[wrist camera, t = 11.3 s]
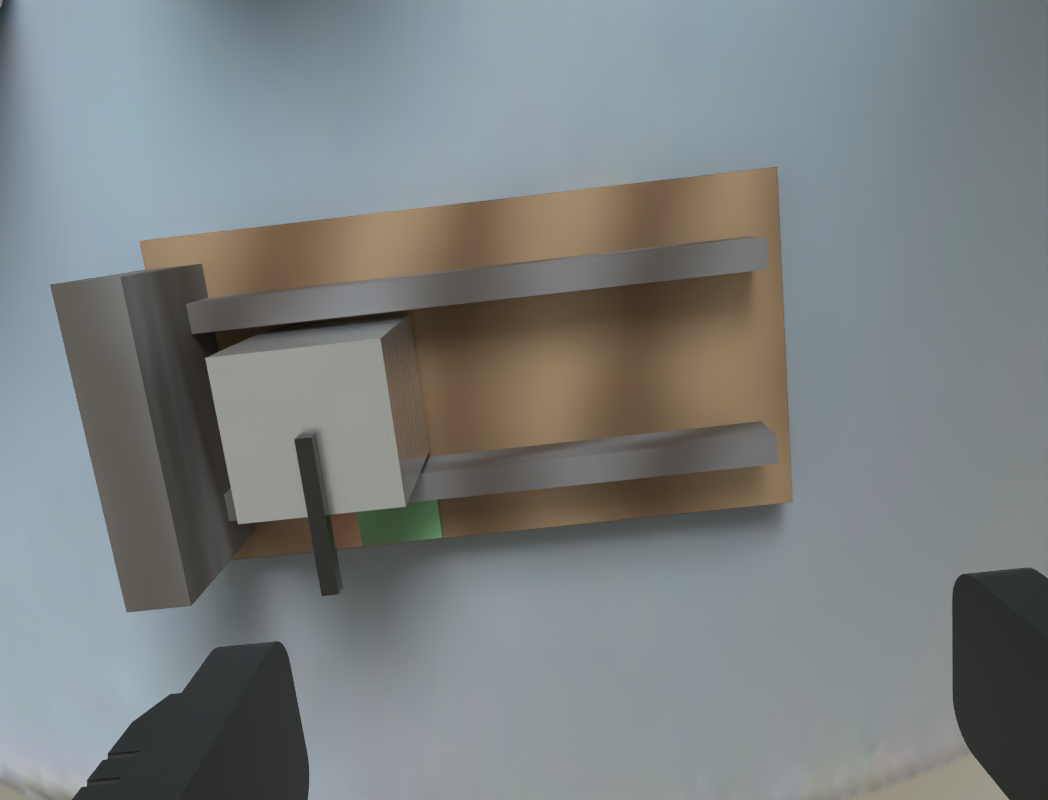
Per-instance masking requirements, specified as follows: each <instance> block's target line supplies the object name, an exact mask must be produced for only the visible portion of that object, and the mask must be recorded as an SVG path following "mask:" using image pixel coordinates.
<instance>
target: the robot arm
mask: <svg viewBox="0 0 1048 800" xmlns="http://www.w3.org/2000/svg"><path fill="white" fill-rule="evenodd" d="M952 612H953V703H954V710H955V715H956V718H957V722H958V725H959V728H960V731H961V733H962V736H963V738H964V740H965V742H966V744H967V746H968V748H969V749H970V751H971V752H972V754H973V755H974V757H975V758H976V759H977V760H978V761H979V763H980V764H981V765H982V766H983V768H984V769H985V770H986V771H987V773H988V774H989V775H990V776H991V777H992V779H993V780H994V781H995V782H996V784H997V785H998V786H999V787H1000V789H1001V790H1002V791H1003V792H1004V793H1005V795H1006V796H1007V797H1008V798H1009V799H1010V800H1048V578H1046V577H1045V576H1044V575H1042V574H1041V573H1039V572H1038V571H1036V570H1034V569H1032V568H1019V569H1009V570H999V571H989V572H979V573H969V574H962V575H960V576H959V577H958V578H957V580H956V582H955V585H954V589H953V599H952ZM308 791H309V763H308V755H307V750H306V744H305V739H304V734H303V729H302V723H301V718H300V713H299V708H298V702H297V697H296V692H295V687H294V681H293V676H292V671H291V666H290V661H289V657H288V654H287V651H286V649H285V647H284V646H283V644H282V643H280V642H278V641H277V642H267V643H257V644H247V645H237V646H227V647H218V648H215V649H214V650H213V651H212V652H211V653H210V654H209V656H208V657H207V658H206V660H205V661H204V663H203V664H202V665H201V667H200V668H199V670H198V671H197V672H196V674H195V675H194V676H193V678H192V679H191V681H190V682H189V683H188V685H187V686H186V688H185V689H184V690H183V692H182V693H178V694H170V695H169V696H167V697H166V698H164V699H163V700H162V701H160V702H159V703H158V704H156V705H155V706H154V707H152V708H151V709H150V710H148V711H147V712H146V713H144V714H143V715H141V716H140V717H139V718H137V719H136V720H135V721H133V722H132V723H131V725H130V726H129V727H128V728H127V730H126V731H125V732H124V734H123V735H122V736H121V737H120V739H119V740H118V741H117V743H116V744H115V745H114V746H113V748H112V749H111V750H110V752H109V753H108V759H107V760H103V761H102V762H101V763H100V764H99V766H98V767H97V768H96V770H95V771H94V772H93V773H92V775H91V776H90V777H89V779H88V780H87V787H82V788H81V789H80V790H79V791H78V793H77V794H76V795H75V797H74V798H73V799H72V800H307V799H308Z"/></svg>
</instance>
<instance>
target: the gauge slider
mask: <svg viewBox="0 0 1048 800" xmlns="http://www.w3.org/2000/svg"><path fill="white" fill-rule="evenodd" d="M205 360H206V365H207V370H208V375H209V380H210V385H211V390H212V395H213V400H214V405H215V410H216V415H217V420H218V426H219V431H220V436H221V441H222V446H223V451H224V456H225V461H226V466H227V471H228V476H229V481H230V486H231V491H232V496H233V501H234V506H235V512H236V517H237V522H238V524H246V523H255V522H265V521H274V520H284V519H293V518H303V517H308V520H309V526H310V531H311V537H312V543H313V548H314V554H315V560H316V565H317V571H318V576H319V582H320V588H321V593H322V596H326V595H336V594H339V593H340V591H341V589H342V581H341V576H340V570H339V564H338V558H337V552H336V546H335V541H334V535H333V529H332V523H331V517H330V515H332V514H341V513H351V512H360V511H370V510H379V509H389V508H398V507H406V505H407V503H408V500H409V498H410V496H411V493H412V491H413V488H414V486H415V484H416V481H417V479H418V476H419V474H420V472H421V469H422V467H423V465H424V462H425V460H426V457H427V455H428V453H429V442H428V435H427V428H426V421H425V414H424V407H423V400H422V393H421V386H420V379H419V372H418V365H417V358H416V351H415V344H414V337H413V330H412V323H411V316H410V313H407V314H398V315H389V316H380V317H371V318H362V319H353V320H344V321H335V322H327V323H318V324H309V325H300V326H291V327H282V328H273V329H268V330H266V331H264V332H261V333H259V334H257V335H255V336H253V337H250V338H248V339H246V340H244V341H242V342H239V343H237V344H235V345H233V346H231V347H228V348H226V349H224V350H222V351H220V352H217V353H215V354H213V355H211V356H209V357H206V358H205Z"/></svg>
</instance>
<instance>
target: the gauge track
mask: <svg viewBox="0 0 1048 800" xmlns="http://www.w3.org/2000/svg"><path fill="white" fill-rule="evenodd" d="M140 246H141V251H142V255H143V260H144V265H145V270H142V271H135V272H129V273H123V274H116V275H110V276H103V277H97V278H90V279H84V280H77V281H71V282H64V283H58V284H51V285H50V286H51V290H52V294H53V299H54V303H55V307H56V312H57V316H58V320H59V324H60V329H61V333H62V337H63V342H64V346H65V350H66V354H67V359H68V363H69V367H70V372H71V376H72V380H73V384H74V389H75V393H76V397H77V401H78V406H79V410H80V414H81V419H82V423H83V427H84V431H85V436H86V440H87V444H88V449H89V453H90V457H91V461H92V466H93V470H94V474H95V479H96V483H97V487H98V491H99V496H100V500H101V504H102V509H103V513H104V517H105V521H106V526H107V530H108V534H109V538H110V543H111V547H112V551H113V556H114V560H115V564H116V568H117V573H118V577H119V581H120V586H121V590H122V594H123V598H124V603H125V607H126V611H127V612H135V611H145V610H154V609H164V608H174V607H184V606H191V605H192V604H193V603H194V602H195V601H196V599H197V598H198V597H199V596H200V595H201V594H202V592H203V591H204V590H205V589H206V588H207V587H208V585H209V584H210V583H211V582H212V581H213V580H214V578H215V577H216V576H217V575H218V574H219V573H220V571H221V570H222V569H223V568H224V567H225V566H226V564H227V563H228V562H229V561H230V560H238V559H248V558H257V557H267V556H277V555H286V554H296V553H306V552H314V548H313V543H312V537H311V531H310V526H309V520H308V517H303V518H293V519H284V520H274V521H265V522H255V523H246V524H238V522H237V517H236V512H235V506H234V501H233V496H232V491H231V486H230V481H229V476H228V471H227V466H226V461H225V456H224V451H223V446H222V441H221V436H220V431H219V426H218V420H217V415H216V410H215V405H214V400H213V395H212V390H211V385H210V380H209V375H208V370H207V365H206V360H205V358H206V357H209V356H211V355H213V354H215V353H217V352H220V351H222V350H224V349H226V348H228V347H231V346H233V345H235V344H237V343H239V342H242V341H244V340H246V339H248V338H250V337H253V336H255V335H257V334H259V333H261V332H264V331H266V330H268V329H273V328H282V327H291V326H300V325H309V324H318V323H327V322H335V321H344V320H353V319H362V318H371V317H380V316H389V315H398V314H407V313H410V316H411V323H412V330H413V337H414V344H415V351H416V358H417V365H418V372H419V379H420V386H421V393H422V400H423V407H424V414H425V421H426V428H427V435H428V442H429V453H428V455H427V457H426V460H425V462H424V465H423V467H422V469H421V472H420V474H419V476H418V479H417V481H416V484H415V486H414V488H413V491H412V493H411V496H410V498H409V500H408V503H407V505H406V507H398V508H389V509H379V510H370V511H360V512H351V513H341V514H332V515H330V517H331V523H332V529H333V535H334V541H335V546H336V549H344V548H354V547H363V546H373V545H383V544H392V543H402V542H412V541H421V540H431V539H441V538H450V537H460V536H470V535H479V534H489V533H499V532H508V531H518V530H528V529H537V528H547V527H557V526H566V525H576V524H586V523H595V522H605V521H614V520H624V519H634V518H643V517H653V516H663V515H672V514H682V513H692V512H701V511H711V510H721V509H730V508H740V507H750V506H759V505H769V504H779V503H788V502H792V480H791V458H790V436H789V415H788V393H787V371H786V349H785V327H784V306H783V284H782V262H781V240H780V218H779V196H778V175H777V167H772V168H764V169H755V170H746V171H738V172H729V173H721V174H712V175H703V176H695V177H686V178H678V179H669V180H660V181H652V182H643V183H634V184H626V185H617V186H609V187H600V188H591V189H583V190H574V191H566V192H557V193H548V194H540V195H531V196H522V197H514V198H505V199H497V200H488V201H479V202H471V203H462V204H454V205H445V206H436V207H428V208H419V209H411V210H402V211H393V212H385V213H376V214H367V215H359V216H350V217H342V218H333V219H324V220H316V221H307V222H299V223H290V224H281V225H273V226H264V227H255V228H247V229H238V230H230V231H221V232H212V233H204V234H195V235H187V236H178V237H169V238H161V239H152V240H143V241H140Z"/></svg>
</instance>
